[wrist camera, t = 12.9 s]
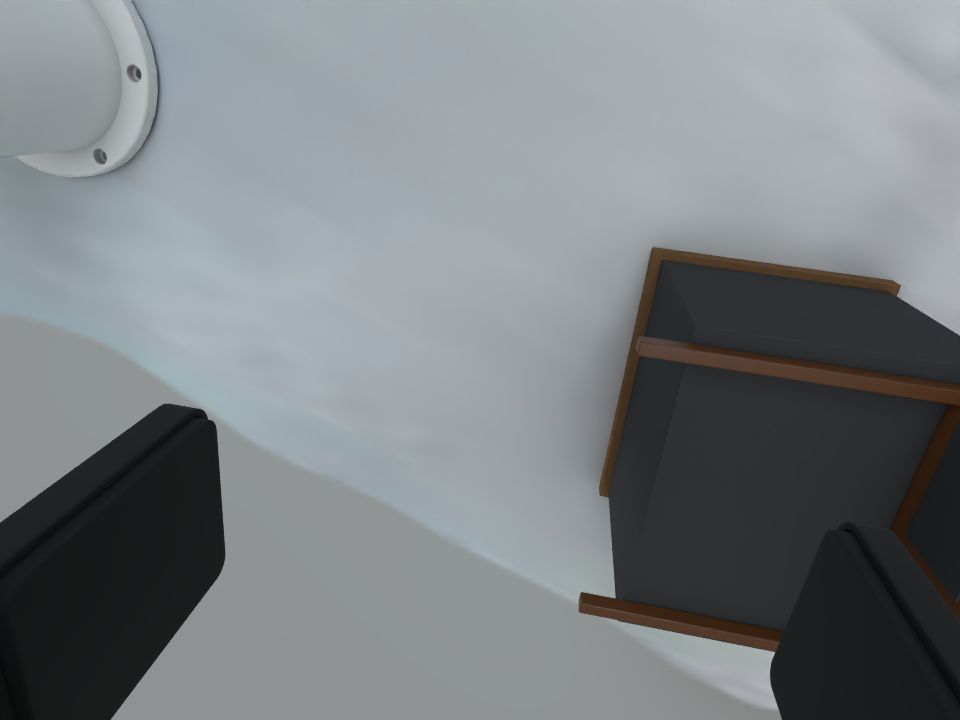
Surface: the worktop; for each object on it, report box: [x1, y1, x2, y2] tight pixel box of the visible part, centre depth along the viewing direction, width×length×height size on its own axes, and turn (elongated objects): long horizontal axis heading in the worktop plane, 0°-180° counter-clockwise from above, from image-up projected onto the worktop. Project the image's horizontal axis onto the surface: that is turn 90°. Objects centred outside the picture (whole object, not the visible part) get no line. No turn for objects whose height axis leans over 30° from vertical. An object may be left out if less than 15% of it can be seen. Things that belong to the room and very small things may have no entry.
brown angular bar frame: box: [579, 336, 960, 651], centre depth 24 cm, size 13×14×5 cm
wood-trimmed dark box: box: [599, 247, 960, 652], centre depth 32 cm, size 14×16×12 cm
